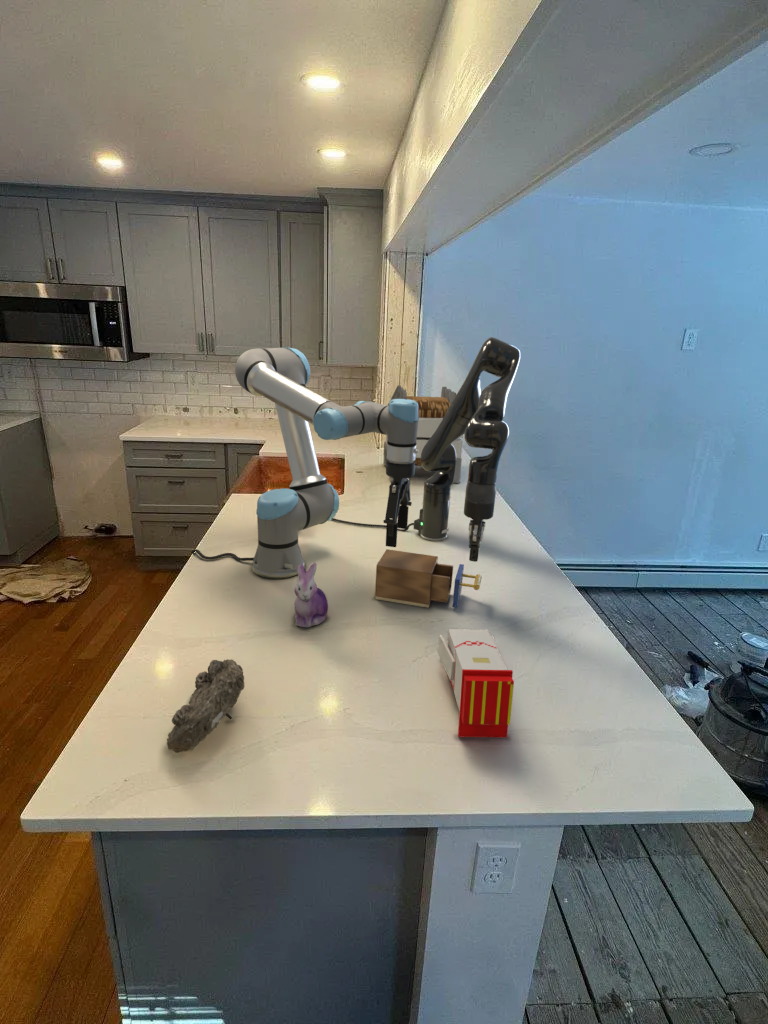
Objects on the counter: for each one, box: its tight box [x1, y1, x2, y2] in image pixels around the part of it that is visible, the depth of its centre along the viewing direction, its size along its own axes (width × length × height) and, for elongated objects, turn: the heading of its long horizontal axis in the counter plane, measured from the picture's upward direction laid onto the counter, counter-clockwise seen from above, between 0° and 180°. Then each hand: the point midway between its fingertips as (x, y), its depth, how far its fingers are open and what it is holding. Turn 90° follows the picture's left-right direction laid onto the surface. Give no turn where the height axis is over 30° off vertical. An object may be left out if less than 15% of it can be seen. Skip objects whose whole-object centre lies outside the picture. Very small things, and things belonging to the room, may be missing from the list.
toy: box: [437, 628, 515, 738], centre depth 117 cm, size 12×13×30 cm
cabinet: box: [374, 548, 439, 609], centre depth 156 cm, size 15×11×10 cm
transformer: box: [383, 384, 464, 484], centre depth 268 cm, size 34×33×41 cm
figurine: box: [293, 562, 329, 628], centre depth 140 cm, size 9×10×15 cm
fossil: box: [166, 658, 245, 754], centre depth 106 cm, size 22×10×15 cm
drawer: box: [430, 563, 482, 608], centre depth 154 cm, size 19×10×8 cm, turn 76°
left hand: (396, 536), depth 153 cm, fingers open, 13 cm apart
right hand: (473, 560), depth 150 cm, fingers closed
